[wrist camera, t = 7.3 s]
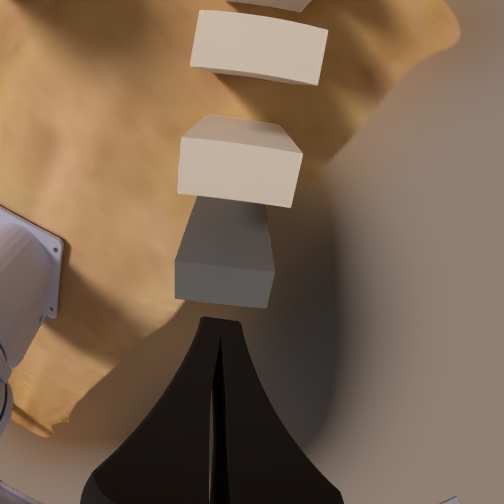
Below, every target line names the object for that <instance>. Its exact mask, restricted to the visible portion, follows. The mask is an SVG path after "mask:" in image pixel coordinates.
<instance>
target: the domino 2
mask: <svg viewBox="0 0 504 504" xmlns="http://www.w3.org/2000/svg"><path fill="white" fill-rule="evenodd" d="M327 35H328V30H326V29H322V28H318V27H314V26H310V25H306V24H302V23H297V22H293V21H288V20H283V19H277V18H272V17H266V16H259V15H252V14H244V13H235V12H225V11H212V10H200V11H199V16H198V22H197V27H196V33H195V38H194V44H193V50H192V56H191V63H190V67H194V68H197V69H201V70H204V71H208V72H211V73H218V74H227V75H236V76H244V77H251V78H258V79H264V80H270V81H275V82H281V83H286V84H303V85H317V86H318V82H319V77H320V72H321V67H322V61H323V56H324V51H325V46H326V41H327Z"/></svg>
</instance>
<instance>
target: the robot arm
mask: <svg viewBox="0 0 504 504" xmlns="http://www.w3.org/2000/svg"><path fill="white" fill-rule="evenodd" d="M56 248H57V249H58V250H57V249H56ZM63 249H64V243H63V241H62V239H60V238H59V237H57V236H55V235H53V234H51V233H49V232H47V231H45V230H44V229H42V228H40V227H38V226H36V225H34V224H32V223H30V222H28V221H27V220H25V219H23V218H21V217H19V216H17V215H16V214H14V213H12V212H10V211H9V210H7V209H5V208H3V207H1V206H0V437H1V436H2V435H3V433H4V432H5V430H6V428H7V426H8V424H9V421H10V419H11V414H12V408H13V393H12V389H11V386H10V384H9V383H8V379H9V377H10V375H11V373H12V370H11V369H13V368H14V367H16V366H17V365H18V364H19V363H20V362H21V361H22V359H23V357H24V355H25V354H26V352H27V350H28V348H29V346H30V344H31V342H32V340H33V339H34V337H35V335H36V333H37V331H38V330H39V328H40V326H41V324H42V323H43V321H44V319H45V317H46V316H48V317H49V318H51V319H56V317H57V311H58V295H59V283H60V273H61V264H62V256H63ZM211 389H212V403H213V404H212V405H213V454H212V472H211V487H210V503H209V427H210V401H211ZM0 504H43V503H41V502H39V501H37V500H35V499H33V498H31V497H29V496H27V495H25V494H23V493H21V492H19V491H18V490H16V489H14V488H12V487H10V486H9V485H7V484H5V483H3V482H2V480H0ZM80 504H344V502H343V499H342V496H341V493H340V491H339V490H338V489H337V488H336V487H335V486H334V485H332V484H331V483H330V482H329V481H328V480H327V479H326V478H325V477H324V476H323V475H322V474H321V472H320V471H319V470H318V469H317V468H316V467H315V466H314V465H313V464H312V462H311V461H310V460H309V459H308V458H307V457H306V455H305V454H304V453H303V451H302V450H301V449H300V448H299V446H298V445H297V444H296V443H295V441H294V440H293V438H292V437H291V436H290V434H289V433H288V431H287V430H286V428H285V427H284V425H283V424H282V422H281V420H280V419H279V417H278V416H277V414H276V412H275V410H274V409H273V407H272V405H271V403H270V401H269V399H268V397H267V395H266V393H265V391H264V389H263V387H262V385H261V383H260V381H259V378H258V376H257V374H256V371H255V368H254V366H253V363H252V361H251V358H250V355H249V352H248V349H247V346H246V343H245V339H244V335H243V331H242V326H241V323H240V322H239V321H232V320H225V319H218V318H211V317H202V318H200V323H199V326H198V329H197V333H196V335H195V337H194V340H193V342H192V344H191V347H190V349H189V351H188V352H187V355H186V356H185V358H184V360H183V362H182V364H181V366H180V368H179V369H178V371H177V373H176V374H175V376H174V378H173V379H172V381H171V383H170V384H169V386H168V387H167V389H166V390H165V392H164V394H163V395H162V396H161V398H160V399H159V400H158V402H157V403H156V405H155V406H154V407H153V409H152V410H151V411H150V412H149V414H148V415H147V416H146V418H145V419H144V420H143V421H142V423H141V424H140V425H139V426H138V427H137V428H136V430H135V431H134V432H133V433H132V434H131V435H130V436H129V437H128V439H126V440H125V441H124V442H123V444H122V445H121V446H120V447H119V448H118V449H117V450H116V451H115V452H114V453H113V454H112V455H111V456H109V458H107V459H106V460H105V461H104V462H103V463H102V464H101V465H100V466H98V467H97V468H96V469H95V470H94V471H93V472H92V474H91V476H90V477H89V479H88V481H87V483H86V484H85V487H84V489H83V492H82V495H81V501H80ZM439 504H459V500H458V496H454V497H453V498H450V499H448V500H446V501H444V502H441V503H439Z"/></svg>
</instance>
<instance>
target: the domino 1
mask: <svg viewBox="0 0 504 504" xmlns="http://www.w3.org/2000/svg"><path fill="white" fill-rule="evenodd" d="M226 1H228V2H238V3H247V4H254V5H261V6H268V7H274V8H279V9H284V10H289V11H294V12H299V13H301V12H302V11H303V10H304V9H305V7H306V6H307V5H308V4H309V3H310V2H311V1H312V0H226Z"/></svg>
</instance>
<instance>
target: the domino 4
mask: <svg viewBox="0 0 504 504" xmlns="http://www.w3.org/2000/svg"><path fill="white" fill-rule="evenodd" d="M274 275H275V267H274V260H273V253H272V246H271V240H270V233H269V227H268V220H267V215H266V208H265V204H260V203H253V202H246V201H238V200H230V199H222V198H214V197H206V196H197V199H196V201H195V204H194V207H193V210H192V212H191V215H190V218H189V221H188V224H187V226H186V229H185V232H184V235H183V238H182V241H181V244H180V247H179V250H178V253H177V256H176V259H175V299H183V300H191V301H200V302H208V303H216V304H226V305H235V306H245V307H256V308H266V307H267V304H268V300H269V296H270V291H271V287H272V284H273V280H274Z"/></svg>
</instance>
